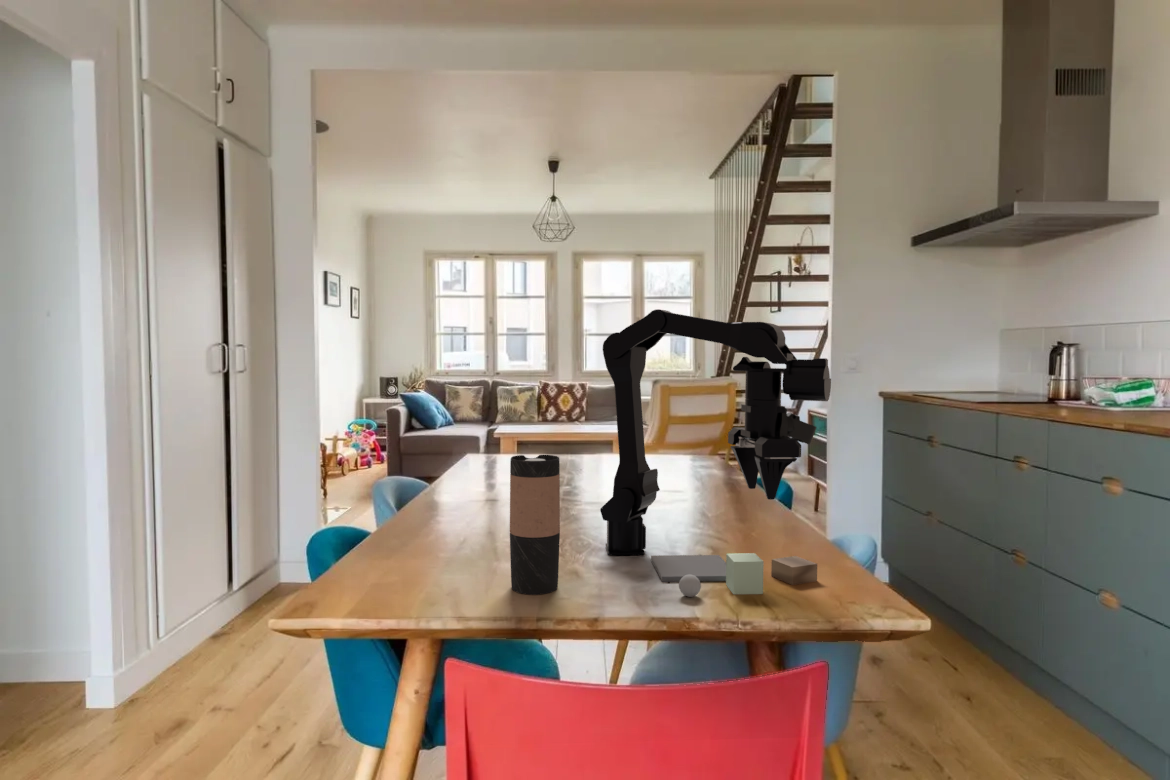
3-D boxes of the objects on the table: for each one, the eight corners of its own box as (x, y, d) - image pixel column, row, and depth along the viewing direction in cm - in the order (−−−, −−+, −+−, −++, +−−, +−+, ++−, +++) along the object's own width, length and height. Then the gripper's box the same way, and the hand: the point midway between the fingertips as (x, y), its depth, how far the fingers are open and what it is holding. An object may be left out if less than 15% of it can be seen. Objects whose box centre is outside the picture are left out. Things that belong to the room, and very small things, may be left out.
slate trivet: (662, 581, 113) (662, 576, 113) (651, 560, 125) (651, 555, 124) (737, 580, 113) (737, 575, 113) (719, 559, 125) (719, 554, 125)
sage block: (733, 594, 107) (733, 561, 107) (725, 585, 111) (726, 553, 111) (763, 594, 107) (763, 561, 107) (754, 584, 112) (754, 553, 111)
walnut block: (792, 586, 111) (792, 567, 111) (771, 577, 116) (771, 559, 116) (817, 582, 113) (817, 563, 113) (795, 573, 118) (795, 555, 118)
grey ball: (681, 600, 104) (681, 578, 104) (677, 592, 107) (677, 571, 107) (702, 599, 104) (703, 578, 104) (698, 592, 107) (698, 571, 107)
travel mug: (540, 598, 104) (540, 462, 103) (499, 589, 108) (499, 458, 107) (569, 584, 111) (569, 456, 110) (529, 576, 115) (529, 452, 114)
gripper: (835, 403, 108) (832, 505, 109) (789, 396, 127) (787, 483, 128) (764, 403, 107) (762, 505, 108) (727, 396, 126) (726, 483, 127)
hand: (761, 493), depth 118 cm, fingers open, 9 cm apart
